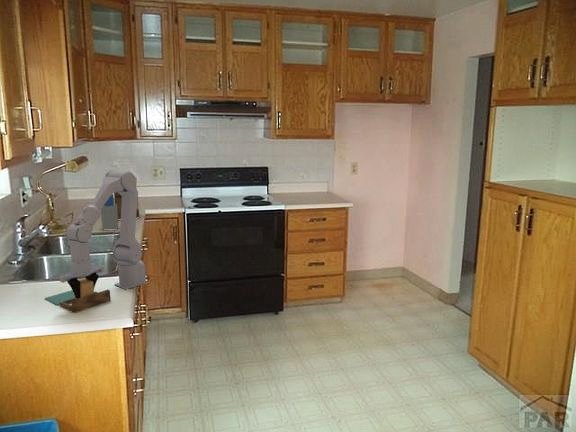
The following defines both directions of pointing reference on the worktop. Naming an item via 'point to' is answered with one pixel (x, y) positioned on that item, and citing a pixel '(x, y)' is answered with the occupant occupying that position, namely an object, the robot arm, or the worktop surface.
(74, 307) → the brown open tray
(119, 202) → the wooden container
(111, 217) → the spray bottle
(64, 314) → the worktop surface
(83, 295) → the block
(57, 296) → the mat
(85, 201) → the worktop surface
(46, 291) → the worktop surface
